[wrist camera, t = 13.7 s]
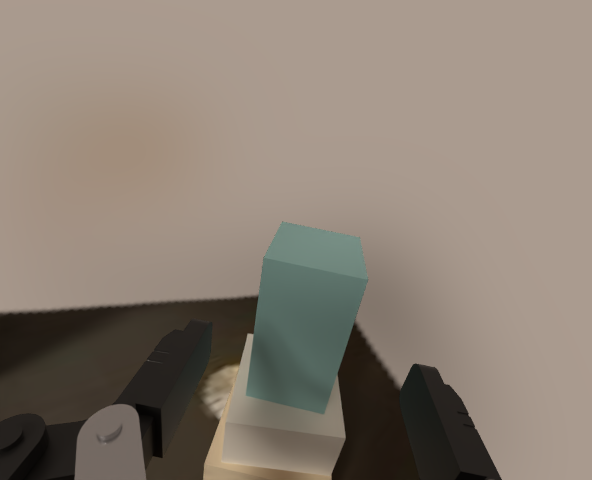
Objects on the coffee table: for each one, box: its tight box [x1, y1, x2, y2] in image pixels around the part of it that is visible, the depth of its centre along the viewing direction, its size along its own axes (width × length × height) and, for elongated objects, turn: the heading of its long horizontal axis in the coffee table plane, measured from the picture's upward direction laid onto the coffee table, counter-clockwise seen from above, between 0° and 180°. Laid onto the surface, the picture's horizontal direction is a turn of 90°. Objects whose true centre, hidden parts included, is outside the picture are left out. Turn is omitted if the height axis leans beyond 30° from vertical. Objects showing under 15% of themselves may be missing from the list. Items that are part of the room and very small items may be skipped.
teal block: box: [246, 222, 368, 414], centre depth 17 cm, size 5×5×10 cm
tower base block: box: [203, 370, 332, 480], centre depth 21 cm, size 8×8×4 cm
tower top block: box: [221, 334, 346, 476], centre depth 20 cm, size 7×7×4 cm
